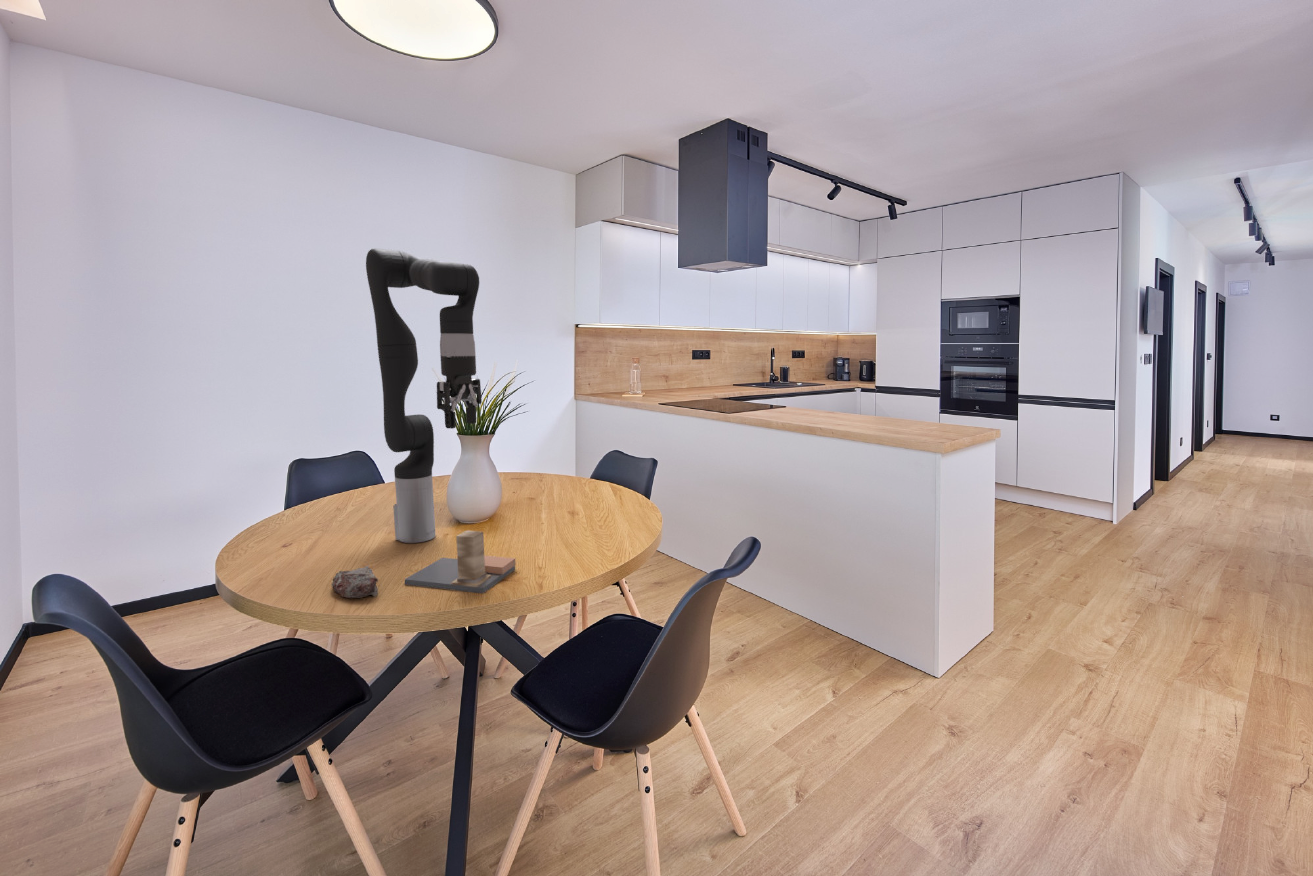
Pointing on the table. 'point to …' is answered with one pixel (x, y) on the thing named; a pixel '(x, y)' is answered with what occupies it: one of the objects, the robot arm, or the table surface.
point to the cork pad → (471, 583)
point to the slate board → (449, 577)
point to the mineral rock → (355, 583)
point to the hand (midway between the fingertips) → (461, 425)
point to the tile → (498, 564)
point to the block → (470, 556)
